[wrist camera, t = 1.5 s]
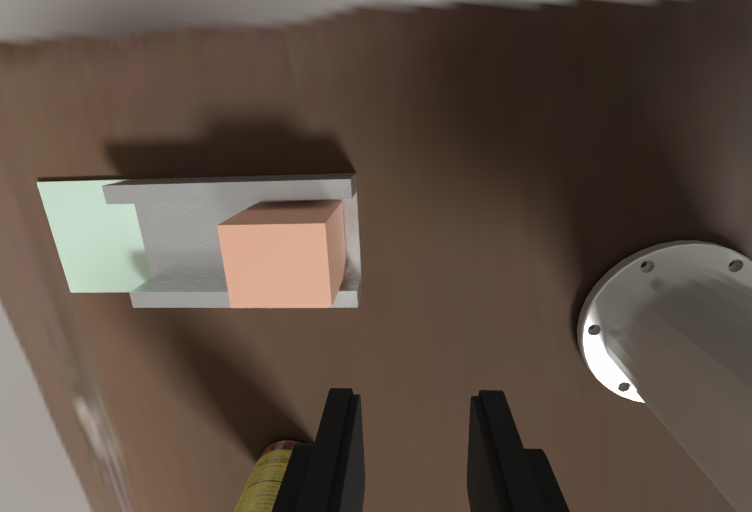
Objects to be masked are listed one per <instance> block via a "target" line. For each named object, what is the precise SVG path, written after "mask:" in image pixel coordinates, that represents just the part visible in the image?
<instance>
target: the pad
mask: <svg viewBox="0 0 752 512" xmlns="http://www.w3.org/2000/svg"><path fill="white" fill-rule="evenodd" d="M126 180H130V179H116V180H81V181H45V182H37V185H38V189H39V192H40V195H41V198H42V201H43V205H44V208H45V211H46V214H47V218H48V221H49V224H50V227H51V230H52V234H53V237H54V240H55V243H56V247H57V250H58V253H59V256H60V260H61V263H62V266H63V269H64V272H65V276H66V279H67V282H68V285H69V289H70V292H130V291H132V290H133V289H135V288H137V287H138V286H140V285H141V284H143V283H145V282H146V281H148V280H149V279H151V273H150V269H149V265H148V261H147V256H146V252H145V248H144V244H143V239H142V235H141V231H140V227H139V222H138V218H137V214H136V210H135V205H134V204H106V201H105V197H104V193H103V189H102V186H103V185H107V184H112V183H116V182H121V181H126Z"/></svg>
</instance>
